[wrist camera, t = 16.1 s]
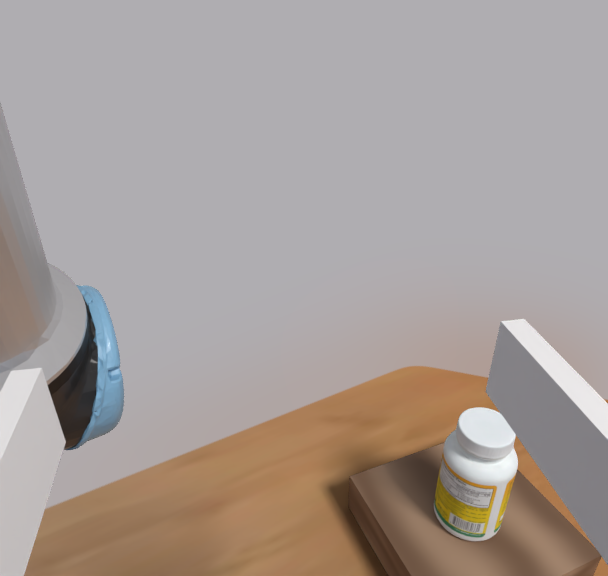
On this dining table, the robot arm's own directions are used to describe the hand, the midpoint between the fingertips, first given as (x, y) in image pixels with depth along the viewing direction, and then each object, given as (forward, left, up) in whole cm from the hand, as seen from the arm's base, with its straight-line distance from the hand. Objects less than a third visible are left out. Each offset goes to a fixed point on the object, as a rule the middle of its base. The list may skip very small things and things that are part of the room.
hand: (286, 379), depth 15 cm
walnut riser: (+6, +20, -31) cm, 37 cm away
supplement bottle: (+6, +20, -27) cm, 34 cm away
